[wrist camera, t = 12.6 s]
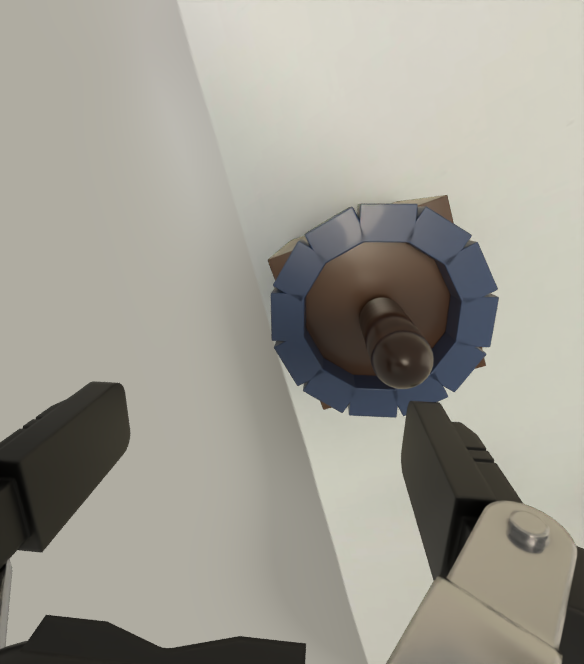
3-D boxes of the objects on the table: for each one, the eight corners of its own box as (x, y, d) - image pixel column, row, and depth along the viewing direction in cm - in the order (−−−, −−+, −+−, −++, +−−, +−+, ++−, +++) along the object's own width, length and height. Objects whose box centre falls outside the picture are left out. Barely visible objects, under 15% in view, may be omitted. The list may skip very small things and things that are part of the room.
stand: (290, 240, 34) (233, 287, 13) (397, 201, 32) (527, 183, 11) (324, 338, 37) (321, 505, 16) (425, 306, 35) (572, 449, 14)
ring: (238, 272, 21) (230, 277, 19) (430, 159, 19) (440, 154, 17) (333, 429, 24) (334, 446, 22) (513, 350, 21) (530, 362, 19)
